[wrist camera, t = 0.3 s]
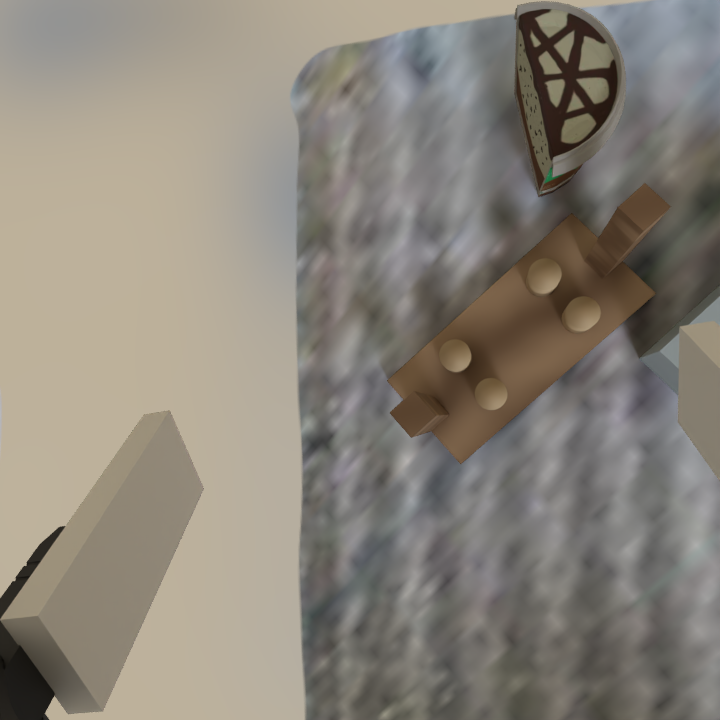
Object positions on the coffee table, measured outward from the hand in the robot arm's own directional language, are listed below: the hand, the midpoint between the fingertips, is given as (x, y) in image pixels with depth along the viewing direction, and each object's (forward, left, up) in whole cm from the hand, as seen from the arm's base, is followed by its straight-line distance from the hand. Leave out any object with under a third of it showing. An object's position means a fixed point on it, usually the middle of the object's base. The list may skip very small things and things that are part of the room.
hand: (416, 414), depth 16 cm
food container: (+12, -21, -35) cm, 43 cm away
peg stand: (+2, -7, -35) cm, 35 cm away
